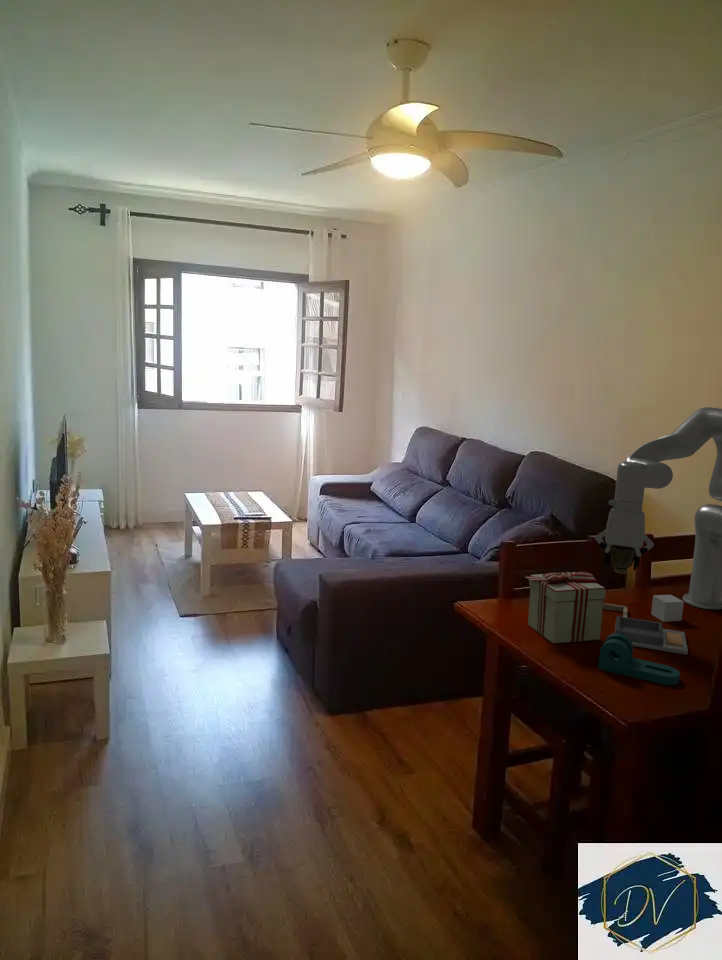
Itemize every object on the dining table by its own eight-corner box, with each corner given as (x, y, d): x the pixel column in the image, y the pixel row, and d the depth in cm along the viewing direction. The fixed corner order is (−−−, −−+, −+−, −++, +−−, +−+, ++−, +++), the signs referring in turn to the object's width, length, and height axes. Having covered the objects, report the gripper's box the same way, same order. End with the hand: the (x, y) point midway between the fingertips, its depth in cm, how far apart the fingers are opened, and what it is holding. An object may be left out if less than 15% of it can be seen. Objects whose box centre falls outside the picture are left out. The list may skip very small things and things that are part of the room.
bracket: (598, 669, 177) (601, 639, 175) (603, 659, 182) (606, 630, 181) (677, 688, 168) (681, 656, 167) (679, 677, 174) (683, 646, 173)
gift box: (563, 616, 211) (568, 559, 208) (604, 640, 194) (611, 579, 191) (513, 621, 205) (518, 563, 202) (551, 647, 188) (557, 584, 185)
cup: (604, 573, 204) (606, 546, 203) (609, 566, 210) (611, 540, 209) (631, 578, 200) (634, 550, 199) (636, 571, 207) (639, 544, 205)
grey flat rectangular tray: (615, 624, 206) (616, 614, 205) (683, 635, 200) (685, 625, 199) (614, 642, 193) (615, 632, 192) (687, 654, 187) (688, 643, 186)
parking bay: (585, 605, 221) (585, 600, 220) (626, 611, 217) (627, 606, 216) (583, 618, 210) (583, 613, 209) (626, 625, 206) (627, 620, 205)
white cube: (668, 613, 217) (671, 594, 216) (681, 621, 211) (683, 601, 210) (650, 614, 215) (653, 595, 214) (663, 621, 210) (665, 602, 208)
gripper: (594, 505, 201) (588, 566, 205) (661, 512, 195) (653, 575, 198) (596, 500, 208) (590, 559, 212) (661, 507, 202) (653, 568, 205)
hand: (621, 566), depth 205 cm, fingers closed on cup, 6 cm apart
